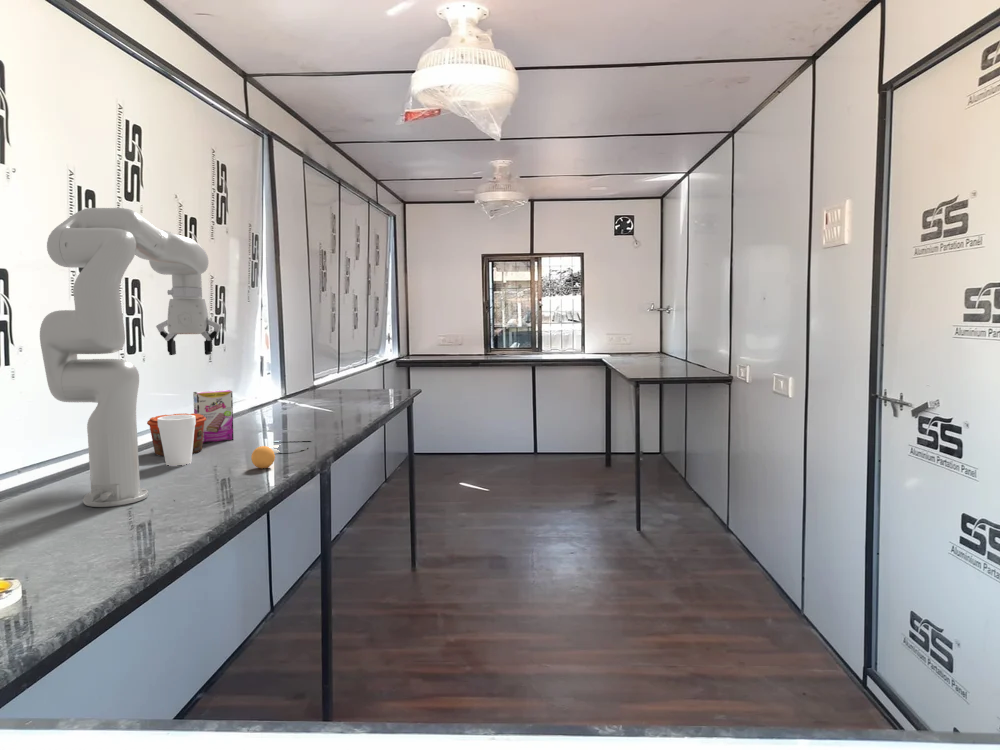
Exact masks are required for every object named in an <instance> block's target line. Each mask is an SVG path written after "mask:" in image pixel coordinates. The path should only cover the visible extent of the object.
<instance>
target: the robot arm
mask: <svg viewBox="0 0 1000 750" xmlns="http://www.w3.org/2000/svg"><path fill="white" fill-rule="evenodd" d="M46 251H47V254H48V256H49V258H50V259H51V260H52V262H54V263H55V264H56V265H59V266H61V267H63V268H76V269H77V268H78V269H79V268H82V270H80V272H79V273H78V275H77V276H76V279H75V280H74V283H73V286H72V288H73V289H72V291H73V292H72V293H73V301H74V309H73V310H72V309H69V310H67V309H65V310H62V309H61V310H60V309H59V310H54V311H51V312H50V313H47V314H46V316H44V318H43V319H42V322H41V323H40V327H39V328H40V329H39V341H40V343H39V345H40V348H41V354H42V355H41V356H42V359H43V366H44V371H45V377H46V381H47V382H46V383H47V386H48V390H49V391H50V394H51V396H53V398H54V399H56V400H57V401H59V402H62V403H96V404H97V405H96V406H95V408H94V410H93V411H92V413H91V414H90V416H89V418H88V420H87V424H86V427H87V428H86V429H87V430H86V431H87V445H88V447H87V448H88V462H89V479H90V492H89V493H86V494H85V495H84V496H83V499H82V501H83V505H85V506H87V507H93V508H107V507H108V508H109V507H118V506H124V505H130V504H133V503H134V504H135V503H137V502H140V501H143V500H145V499H146V498H148V496H149V491H148V489H147V488H143V487H141V481H140V479H141V478H140V461H139V444H138V443H139V441H138V427H137V426H138V425H137V424H138V423H137V402H138V392H139V386H140V374H139V371H138V370H139V369H137V367H136V366H135V364H133V363H132V362H130V361H127V360H124V359H119V358H118V359H117V358H80V359H79V358H78V355H105V354H107V355H108V354H114V353H117V352H119V351H121V350H122V349H123V348H124V345H125V342H126V333H125V325H124V323H125V322H124V317H123V311H122V302H121V295H120V291H121V290H120V288H121V287H120V286H121V282H122V279H123V277H124V274H125V272H126V271H127V269H128V267H129V265H130V264H131V263H132V261H133V260H134V257H135V256H137V257H138V258H140V259H142V260H146V261H148V262H149V265H150V267H151V269H152V271H154V272H156V273H157V274H159V275H165V276H166V275H169V276H170V275H171V282H172V284H171V285H172V287H171V289H168V290H167V295H169V296H171V297H172V298H170V299H169V302H168V308H167V319H166V320H165V321H163V322H161V323H158V324H157V325H156V326H155V327H156V330H157V332H158V333H159V334H160V336H161V337H162V338H163V339H164V340H165V341H166V347H167V348H166V349H167V352H168V355H169V356H174V355H177V350H176V349H177V348H176V341H175V338H176V336H177V335H201V336H203V338H204V339H205V340H204V341H203V342H204V345H203V346H204V355H205V356H209V355H212V352H213V341H214V339H215V338H217V337H216V336H218V334H219V332H220V330H221V328H222V325H221V324H220V323H217V322H215V321H213V320H211V319H209V314H208V306H207V303H206V300H205V299H204V298H203V288H202V287H203V285H202V274H204V273H205V272H206V271H207V270H208V267H209V257H208V254H207V252H206V250H205V249H204V248H203V247H202V246H201V244H200V243H198V242H196V241H195V240H194V239H192V238H189V237H187V236H184V235H180V234H178V233H174V232H171V231H168V230H164V229H161V228H158V227H157V226H155V225H154V224H152V223H151V222H150V221H148V220H147V219H146V218H144V217H143V216H142V215H141V214H139V213H138V212H136V211H135V210H132V209H129V208H124V207H89V208H88V207H86V208H83V209H81V210H79V211H77V212H75V213H73V214H72V215H71V216H70V217H67V219H65V220H64V221H62V223H60V224H58V225H57V226H56V227H55V228H54V229H52V231H51V232H50V234H49V235H48V237H47V241H46ZM210 326H211V327H213V331H212V332H209V331H210ZM165 328H167V331H166V330H165Z"/></svg>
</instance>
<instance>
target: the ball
mask: <svg viewBox="0 0 1000 750" xmlns="http://www.w3.org/2000/svg"><path fill="white" fill-rule="evenodd" d="M275 460H276V454H274V452H273V450H272V449H271V448H269V447H268V445H267V446H266V445H262V446H260V445H259V446H258V447H256V448H255V449H254V450H253V451H252V453H251V463H252V464H253V466H254V467H256V468H258V469H262V470H263V468H264V469H267V468H269V467H271V466H272V465H273V464H274V462H275Z"/></svg>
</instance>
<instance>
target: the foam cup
mask: <svg viewBox="0 0 1000 750" xmlns="http://www.w3.org/2000/svg"><path fill="white" fill-rule="evenodd" d="M170 415H171V416H164V417H159V418H157V420H158V428H159V431H160V436H161V441H162V446H163V451H164V456H163V457H164V460H165V466H167V465H169V466H168V467H178V466H177V465H182V466H187V465H190V464H191V463H192V460H193V454H192V451H193V441H194V430H195V425H196V418H195V416H194V415H173V414H170ZM189 463H190V464H189ZM186 464H187V465H186Z"/></svg>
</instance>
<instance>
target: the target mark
mask: <svg viewBox="0 0 1000 750" xmlns="http://www.w3.org/2000/svg"><path fill="white" fill-rule="evenodd" d="M279 445H280V444H275V445H274V444H273V445H269V447H274V448H278V447H279ZM271 449H272V450H273V452H274V453H278V452H280V451H279V450H277V449H273V448H271Z"/></svg>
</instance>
